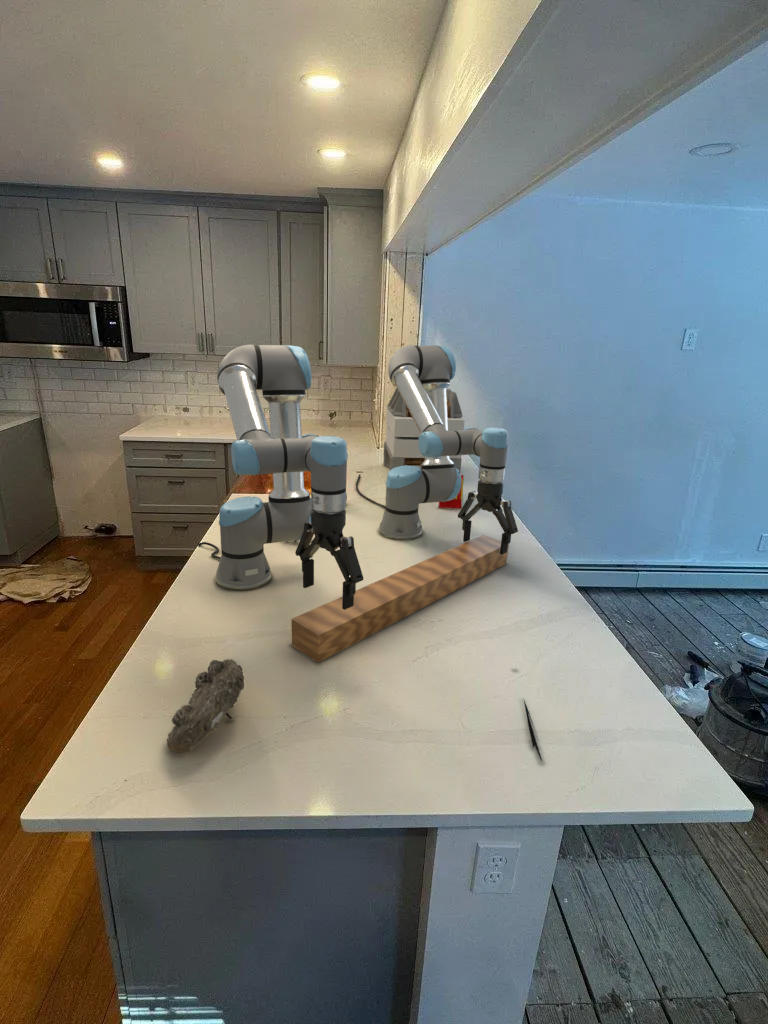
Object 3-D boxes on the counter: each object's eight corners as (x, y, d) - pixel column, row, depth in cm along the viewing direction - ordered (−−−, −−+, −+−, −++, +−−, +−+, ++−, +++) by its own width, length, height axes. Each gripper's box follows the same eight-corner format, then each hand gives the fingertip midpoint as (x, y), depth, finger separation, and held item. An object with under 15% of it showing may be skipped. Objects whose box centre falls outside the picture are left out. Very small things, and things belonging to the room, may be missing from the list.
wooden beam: (481, 554, 186) (483, 534, 184) (506, 563, 180) (509, 543, 178) (291, 645, 132) (291, 618, 130) (318, 663, 126) (318, 635, 123)
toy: (456, 466, 252) (467, 476, 223) (454, 496, 255) (465, 509, 225) (428, 465, 252) (437, 475, 222) (427, 495, 254) (435, 508, 225)
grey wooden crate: (382, 463, 289) (386, 382, 275) (445, 464, 293) (451, 384, 279) (390, 482, 257) (394, 392, 243) (460, 483, 261) (468, 394, 247)
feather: (515, 674, 127) (521, 668, 126) (541, 765, 100) (548, 758, 100) (509, 670, 127) (514, 664, 126) (533, 761, 100) (540, 753, 99)
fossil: (192, 660, 117) (244, 628, 112) (224, 691, 120) (276, 661, 115) (142, 746, 98) (202, 712, 93) (182, 779, 101) (242, 748, 96)
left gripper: (279, 498, 128) (280, 582, 135) (356, 529, 112) (353, 623, 119) (305, 491, 133) (305, 573, 140) (382, 520, 117) (378, 611, 124)
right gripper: (449, 474, 174) (445, 538, 181) (521, 492, 158) (513, 562, 165) (464, 470, 179) (459, 533, 186) (534, 487, 163) (526, 555, 170)
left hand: (327, 596), depth 130 cm, fingers open, 13 cm apart
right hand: (484, 546), depth 176 cm, fingers open, 13 cm apart
